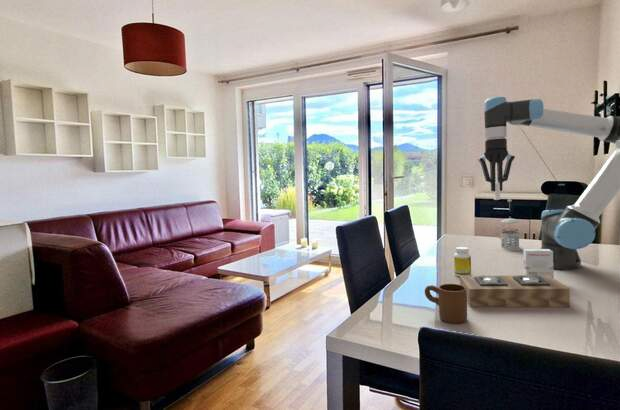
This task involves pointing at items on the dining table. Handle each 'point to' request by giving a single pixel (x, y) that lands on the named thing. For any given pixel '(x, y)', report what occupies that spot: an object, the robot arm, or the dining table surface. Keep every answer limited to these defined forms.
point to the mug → (450, 302)
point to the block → (516, 291)
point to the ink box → (538, 262)
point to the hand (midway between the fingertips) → (496, 199)
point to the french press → (509, 235)
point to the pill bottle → (462, 262)
